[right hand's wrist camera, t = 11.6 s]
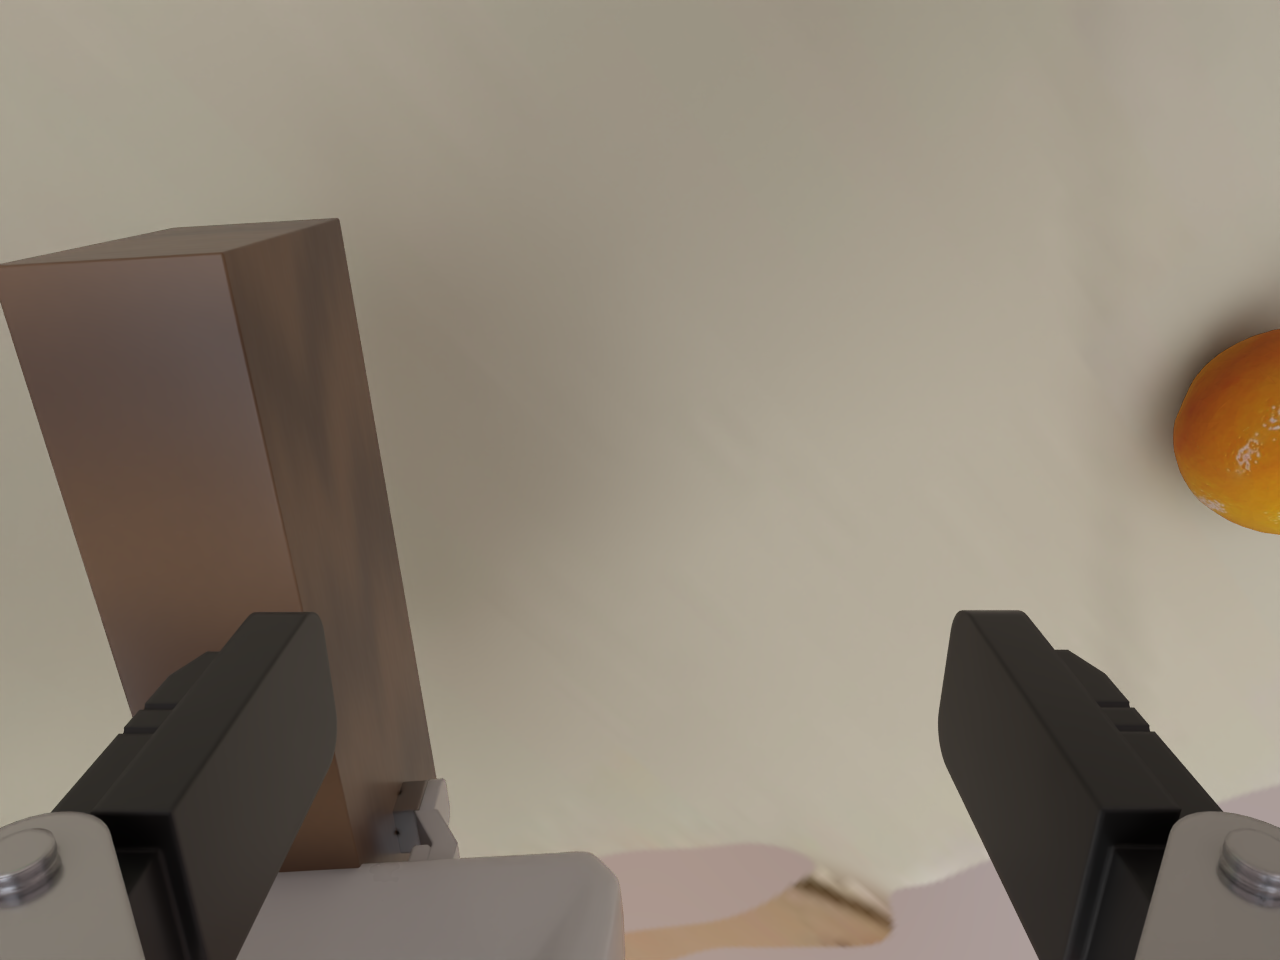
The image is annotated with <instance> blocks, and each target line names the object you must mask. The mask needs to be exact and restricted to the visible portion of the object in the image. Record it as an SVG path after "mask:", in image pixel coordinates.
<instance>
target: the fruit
mask: <svg viewBox="0 0 1280 960" xmlns="http://www.w3.org/2000/svg"><path fill="white" fill-rule="evenodd" d="M1173 441H1174V452H1175V456H1176V460H1177V463H1178V466H1179V470H1180V472H1181V474H1182V476H1183V478H1184V480H1185V482H1186V483H1187V485H1188V487H1189V488H1190V490H1191V491H1192V492H1193V494H1194V495H1195V496H1196V497H1197V498H1198V499H1199V500H1200V501H1201V502H1202V503H1203V504H1205V505H1206V506H1207V507H1209V508H1210V509H1211V510H1213V511H1214V512H1216V513H1217V514H1219V515H1221V516H1222V517H1224V518H1225V519H1227V520H1229V521H1231V522H1233V523H1236V524H1238V525H1240V526H1243V527H1246V528H1250V529H1253V530H1256V531H1260V532H1264V533H1271V534H1278V535H1280V329H1277V330H1272V331H1269V332H1266V333H1262V334H1258V335H1255V336H1252V337H1250V338H1248V339H1246V340H1243V341H1241V342H1239V343H1237V344H1235V345H1233V346H1231V347H1230V348H1228V349H1226V350H1225V351H1223V352H1221V353H1220V354H1219V355H1217V356H1216V357H1215V358H1214V359H1212V360H1211V361H1210V362H1209V363H1208V364H1206V365H1205V366H1204V368H1203V369H1202V370H1201V371H1200V372H1199V374H1198V375H1197V376H1196V377H1195V379H1194V380H1193V382H1192V384H1191V386H1190V388H1189V389H1188V392H1187V394H1186V396H1185V398H1184V400H1183V403H1182V405H1181V408H1180V410H1179V412H1178V415H1177V417H1176V420H1175V424H1174V433H1173Z"/></svg>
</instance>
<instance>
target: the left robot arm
mask: <svg viewBox="0 0 1280 960" xmlns="http://www.w3.org/2000/svg"><path fill="white" fill-rule="evenodd" d="M393 816H394V821H395V826H396V830H397V831H398V835H397V836H398V841H399V847H400V852H401V853H410V856H409V860H408V861H403V862H385V863H366V864H362V865H361V866H360V867H359V868H350V869H332V870H314V871H296V872H278V874H277V876H276V878H275V881H274V883H273V885H272V887H271V889H270V891H269V893H268V895H267V897H266V899H265V901H264V903H263V905H262V907H261V909H260V911H259V913H258V915H257V917H256V920H255V922H254V924H253V926H252V928H251V930H250V932H249V934H248V936H247V938H246V940H245V942H244V944H243V946H242V948H241V950H240V952H239V954H238V956H237V959H236V960H625V936H624V919H623V907H622V898H621V891H620V884H619V880H618V878H617V876H616V875H615V874H614V873H613V872H612V871H611V870H610V869H609V868H608V867H607V866H606V865H605V864H604V863H603V862H602V861H601V860H600V859H599V858H598V857H596V856H595V855H594V854H592V853H589V852H578V851H576V852H563V853H548V854H530V855H512V856H494V857H475V858H460V855H459V849H458V843H457V841H456V839H455V837H454V836H453V834H452V832H451V831H450V829H449V827H448V825H449V820H450V803H449V797H448V791H447V785H446V781H445V779H443V778H442V779H430V780H421V781H405V782H403V783H402V786H401V789H400V794H399V795H398V797H397V800H396V803H395V806H394V809H393Z"/></svg>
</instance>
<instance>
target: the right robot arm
mask: <svg viewBox="0 0 1280 960" xmlns="http://www.w3.org/2000/svg"><path fill="white" fill-rule="evenodd" d="M938 733H939V742H940V748H941V752H942V756H943V759H944V762H945V765H946V767H947V769H948V771H949V773H950V775H951V778H952V780H953V782H954V784H955V786H956V788H957V790H958V792H959V794H960V796H961V798H962V800H963V802H964V805H965V807H966V809H967V811H968V813H969V815H970V817H971V819H972V821H973V823H974V825H975V827H976V829H977V832H978V834H979V836H980V838H981V840H982V842H983V844H984V846H985V848H986V850H987V852H988V854H989V857H990V859H991V861H992V863H993V865H994V867H995V869H996V871H997V873H998V875H999V877H1000V879H1001V881H1002V884H1003V886H1004V888H1005V890H1006V892H1007V894H1008V896H1009V898H1010V900H1011V902H1012V904H1013V906H1014V908H1015V911H1016V913H1017V915H1018V917H1019V919H1020V921H1021V923H1022V925H1023V927H1024V929H1025V931H1026V933H1027V935H1028V938H1029V940H1030V942H1031V944H1032V946H1033V948H1034V950H1035V952H1036V954H1037V956H1038V958H1039V960H1280V828H1279V827H1276V826H1274V825H1271V824H1269V823H1266V822H1264V821H1260V820H1258V819H1254V818H1251V817H1248V816H1243V815H1239V814H1234V813H1227V812H1223V811H1222V810H1221V809H1220V807H1219V806H1218V805H1217V804H1216V803H1215V802H1214V800H1213V799H1212V798H1211V797H1210V796H1209V795H1208V793H1207V792H1206V791H1205V790H1204V789H1203V788H1202V786H1201V785H1200V784H1199V783H1198V782H1197V781H1196V779H1195V778H1194V777H1193V776H1192V775H1191V773H1190V772H1189V771H1188V770H1187V769H1186V768H1185V766H1184V765H1183V764H1182V763H1181V762H1180V761H1179V759H1178V758H1177V757H1176V756H1175V755H1174V754H1173V752H1172V751H1171V750H1170V749H1169V748H1168V747H1167V745H1166V744H1165V743H1164V742H1163V741H1162V740H1161V738H1160V737H1159V736H1158V735H1157V734H1156V733H1155V732H1150V729H1149V724H1148V723H1147V722H1146V721H1145V720H1144V719H1143V717H1142V716H1141V715H1140V714H1139V713H1138V712H1137V710H1136V709H1135V708H1130V706H1129V701H1128V700H1127V699H1126V698H1125V696H1124V695H1123V694H1122V693H1121V692H1120V691H1119V689H1118V688H1117V687H1116V686H1115V685H1114V684H1113V682H1112V681H1111V680H1110V679H1109V678H1108V676H1107V675H1106V674H1105V673H1103V672H1102V671H1100V670H1098V669H1097V668H1095V667H1094V666H1092V665H1091V664H1089V663H1088V662H1086V661H1084V660H1083V659H1081V658H1080V657H1078V656H1077V655H1075V654H1074V653H1072V652H1070V651H1069V650H1054V648H1053V647H1052V646H1051V645H1050V643H1049V642H1048V641H1047V640H1046V638H1045V637H1044V636H1043V635H1042V633H1041V632H1040V631H1039V630H1038V628H1037V627H1036V626H1035V625H1034V623H1033V622H1032V621H1031V620H1030V618H1029V617H1028V616H1027V615H1026V614H1025V613H1024V612H1022V611H1019V610H962V611H959V612H958V613H957V614H956V616H955V618H954V620H953V623H952V627H951V633H950V640H949V647H948V653H947V660H946V667H945V674H944V680H943V687H942V694H941V700H940V707H939V715H938ZM336 739H337V713H336V706H335V699H334V693H333V686H332V679H331V673H330V666H329V660H328V653H327V646H326V640H325V633H324V628H323V624H322V621H321V619H320V617H319V615H318V614H317V613H315V612H253V613H252V614H250V615H249V616H248V617H247V618H246V619H245V621H244V622H243V623H242V624H241V626H240V627H239V628H238V629H237V631H236V632H235V633H234V634H233V636H232V637H231V638H230V639H229V641H228V642H227V643H226V644H225V646H224V647H223V648H222V649H221V650H220V651H207V652H205V653H204V654H202V655H200V656H199V657H197V658H196V659H194V660H193V661H191V662H190V663H188V664H186V665H185V666H183V667H182V668H180V669H179V670H177V671H175V672H174V673H172V674H171V675H169V676H168V677H167V679H166V680H165V681H164V682H163V683H162V684H161V685H160V687H159V688H158V689H157V690H156V691H155V692H154V694H153V695H152V696H151V697H150V698H149V699H148V701H147V702H146V703H145V707H144V710H139V711H138V712H137V713H136V714H135V716H134V717H133V718H132V719H131V720H130V721H129V723H128V724H127V725H126V726H125V727H124V733H123V734H118V735H117V736H116V738H115V739H114V740H113V741H112V742H111V743H110V745H109V746H108V747H107V748H106V749H105V750H104V751H103V753H102V754H101V755H100V756H99V757H98V758H97V760H96V761H95V762H94V763H93V764H92V765H91V767H90V768H89V769H88V770H87V771H86V772H85V773H84V775H83V776H82V777H81V778H80V779H79V780H78V782H77V783H76V784H75V785H74V786H73V787H72V789H71V790H70V791H69V792H68V793H67V794H66V795H65V797H64V798H63V799H62V800H61V801H60V802H59V804H58V805H57V806H56V807H55V808H54V809H53V811H52V812H51V813H46V814H41V815H37V816H32V817H29V818H26V819H22V820H19V821H16V822H13V823H11V824H9V825H6V826H4V827H1V828H0V960H236V959H237V956H238V954H239V952H240V950H241V948H242V946H243V944H244V942H245V940H246V938H247V936H248V934H249V932H250V930H251V928H252V926H253V924H254V922H255V920H256V917H257V915H258V913H259V911H260V909H261V907H262V905H263V903H264V901H265V899H266V897H267V895H268V893H269V891H270V889H271V887H272V885H273V883H274V881H275V878H276V876H277V874H278V872H279V870H280V868H281V866H282V864H283V862H284V860H285V858H286V856H287V854H288V852H289V850H290V848H291V846H292V844H293V842H294V839H295V837H296V835H297V833H298V831H299V829H300V827H301V825H302V823H303V821H304V819H305V817H306V815H307V813H308V811H309V809H310V807H311V805H312V803H313V800H314V798H315V796H316V794H317V792H318V790H319V788H320V786H321V784H322V782H323V780H324V778H325V776H326V774H327V772H328V770H329V767H330V765H331V762H332V759H333V756H334V752H335V746H336Z"/></svg>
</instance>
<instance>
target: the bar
mask: <svg viewBox="0 0 1280 960" xmlns="http://www.w3.org/2000/svg"><path fill="white" fill-rule="evenodd" d="M0 302H1V305H2V309H3V312H4V315H5V318H6V321H7V324H8V327H9V331H10V334H11V337H12V340H13V343H14V346H15V349H16V353H17V356H18V359H19V362H20V365H21V368H22V371H23V375H24V378H25V381H26V384H27V387H28V390H29V393H30V397H31V400H32V403H33V406H34V409H35V412H36V415H37V419H38V422H39V425H40V428H41V431H42V434H43V437H44V441H45V444H46V447H47V450H48V453H49V456H50V459H51V463H52V466H53V469H54V472H55V475H56V478H57V481H58V485H59V488H60V491H61V494H62V497H63V500H64V503H65V506H66V510H67V513H68V516H69V519H70V522H71V525H72V528H73V532H74V535H75V538H76V541H77V544H78V547H79V550H80V554H81V557H82V560H83V563H84V566H85V569H86V572H87V576H88V579H89V582H90V585H91V588H92V591H93V594H94V598H95V601H96V604H97V607H98V610H99V613H100V616H101V620H102V623H103V626H104V629H105V632H106V635H107V638H108V642H109V645H110V648H111V651H112V654H113V657H114V660H115V664H116V667H117V670H118V673H119V676H120V679H121V682H122V686H123V689H124V692H125V695H126V698H127V701H128V704H129V708H130V711H131V714H132V717H134V716H135V714H136V713H137V712H138V711H139V710H144V707H145V703H146V702H147V701H148V699H149V698H150V697H151V696H152V695H153V694H154V692H155V691H156V690H157V689H158V688H159V687H160V685H161V684H162V683H163V682H164V681H165V680H166V679H167V677H168V676H169V675H171V674H172V673H174V672H175V671H177V670H179V669H180V668H182V667H183V666H185V665H186V664H188V663H190V662H191V661H193V660H194V659H196V658H197V657H199V656H200V655H202V654H204V653H205V652H207V651H220V650H221V649H222V648H223V647H224V646H225V644H226V643H227V642H228V641H229V639H230V638H231V637H232V636H233V634H234V633H235V632H236V631H237V629H238V628H239V627H240V626H241V624H242V623H243V622H244V621H245V619H246V618H247V617H248V616H249V615H250V614H252V613H253V612H315V613H317V614H318V615H319V617H320V619H321V621H322V624H323V628H324V633H325V640H326V646H327V653H328V660H329V666H330V673H331V679H332V686H333V693H334V699H335V706H336V713H337V739H336V746H335V752H334V756H333V759H332V762H331V765H330V767H329V770H328V772H327V774H326V776H325V778H324V780H323V782H322V784H321V786H320V788H319V790H318V792H317V794H316V796H315V798H314V800H313V803H312V805H311V807H310V809H309V811H308V813H307V815H306V817H305V819H304V821H303V823H302V825H301V827H300V829H299V831H298V833H297V835H296V837H295V839H294V842H293V844H292V846H291V848H290V850H289V852H288V854H287V856H286V858H285V860H284V862H283V864H282V866H281V868H280V870H279V872H296V871H314V870H332V869H350V868H359V867H360V866H361V865H362V864H366V863H385V862H403V861H408V860H409V856H410V853H401V852H400V847H399V841H398V836H397V835H398V831H397V830H396V826H395V821H394V816H393V809H394V806H395V803H396V800H397V797H398V795H399V794H400V789H401V786H402V783H403V782H405V781H421V780H430V779H436V773H435V768H434V762H433V756H432V750H431V745H430V739H429V733H428V727H427V722H426V716H425V710H424V704H423V699H422V693H421V687H420V681H419V676H418V670H417V664H416V658H415V652H414V647H413V641H412V635H411V629H410V624H409V618H408V612H407V606H406V601H405V595H404V589H403V583H402V578H401V572H400V566H399V560H398V555H397V549H396V543H395V537H394V531H393V526H392V520H391V514H390V508H389V503H388V497H387V491H386V485H385V480H384V474H383V468H382V462H381V457H380V451H379V445H378V439H377V434H376V428H375V422H374V416H373V411H372V405H371V399H370V393H369V387H368V382H367V376H366V370H365V364H364V359H363V353H362V347H361V341H360V336H359V330H358V324H357V318H356V313H355V307H354V301H353V295H352V290H351V284H350V278H349V272H348V266H347V261H346V255H345V249H344V243H343V238H342V232H341V226H340V220H339V219H338V218H330V219H313V220H296V221H280V222H263V223H246V224H230V225H213V226H197V227H180V228H171V229H166V230H161V231H156V232H152V233H147V234H142V235H137V236H132V237H128V238H123V239H118V240H113V241H108V242H104V243H99V244H94V245H89V246H84V247H80V248H75V249H70V250H65V251H60V252H56V253H51V254H46V255H41V256H36V257H32V258H27V259H22V260H17V261H12V262H8V263H3V264H0Z"/></svg>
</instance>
